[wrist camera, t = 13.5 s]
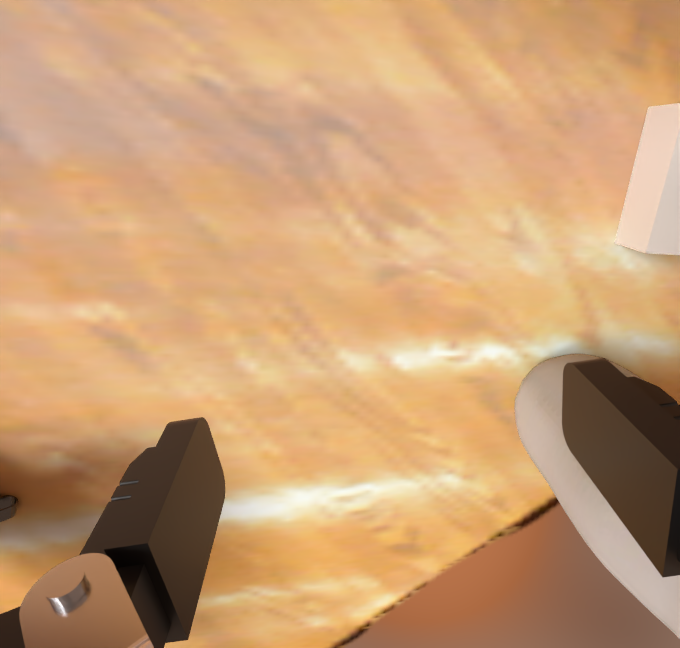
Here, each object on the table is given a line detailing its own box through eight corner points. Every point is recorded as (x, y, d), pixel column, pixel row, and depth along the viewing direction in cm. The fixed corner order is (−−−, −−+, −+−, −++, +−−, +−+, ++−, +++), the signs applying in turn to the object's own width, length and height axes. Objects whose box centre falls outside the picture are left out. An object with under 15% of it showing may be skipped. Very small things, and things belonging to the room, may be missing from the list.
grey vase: (630, 350, 43) (1129, 679, 16) (578, 448, 46) (926, 854, 20) (526, 321, 41) (890, 627, 15) (480, 424, 45) (714, 824, 18)
